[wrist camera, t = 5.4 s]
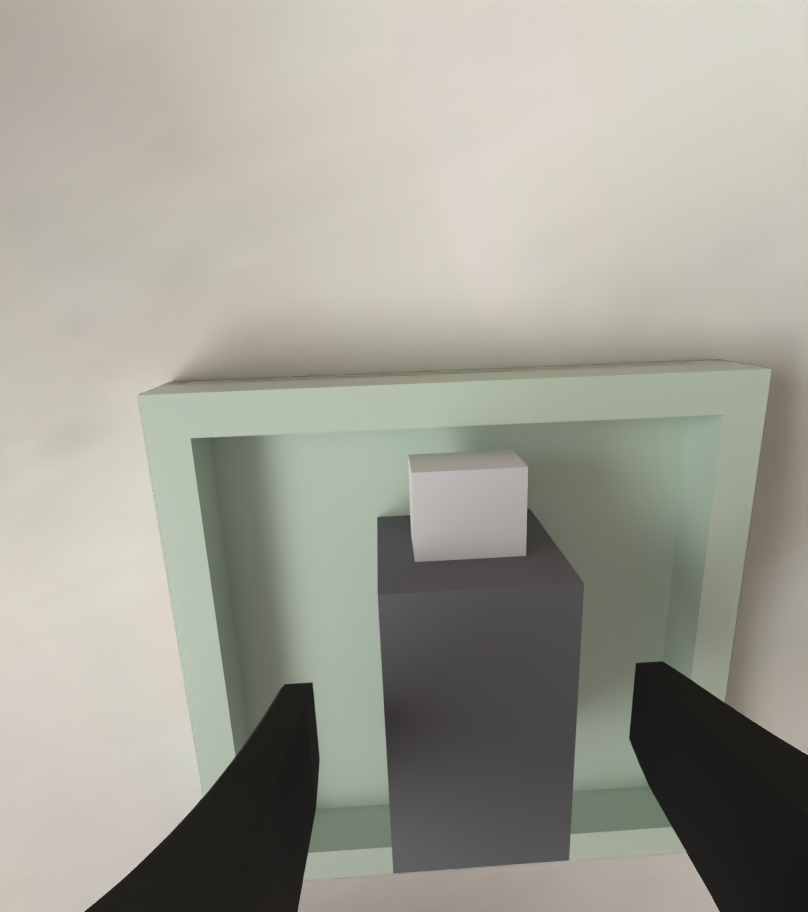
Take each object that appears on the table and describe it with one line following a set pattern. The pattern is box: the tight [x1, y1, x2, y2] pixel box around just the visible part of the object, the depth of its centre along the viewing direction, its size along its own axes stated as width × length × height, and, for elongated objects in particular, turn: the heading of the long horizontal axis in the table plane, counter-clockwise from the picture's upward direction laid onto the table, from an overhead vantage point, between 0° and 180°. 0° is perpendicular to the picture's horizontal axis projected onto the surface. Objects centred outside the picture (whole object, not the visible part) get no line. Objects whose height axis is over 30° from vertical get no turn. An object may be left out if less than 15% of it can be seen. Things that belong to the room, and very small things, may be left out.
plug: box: [377, 450, 584, 874], centre depth 13 cm, size 9×4×4 cm, turn 2°
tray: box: [137, 360, 772, 881], centre depth 15 cm, size 14×14×2 cm
